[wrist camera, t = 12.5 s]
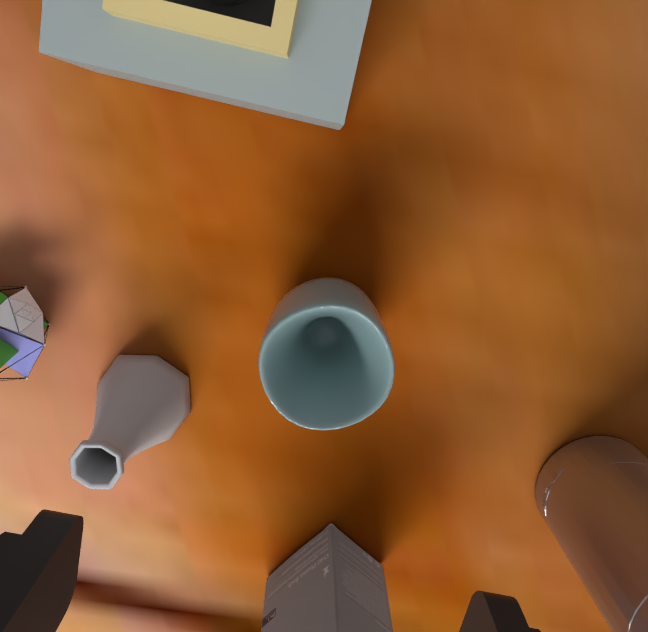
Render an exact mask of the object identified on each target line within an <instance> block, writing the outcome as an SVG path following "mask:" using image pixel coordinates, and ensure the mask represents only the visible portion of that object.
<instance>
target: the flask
mask: <svg viewBox="0 0 648 632" xmlns="http://www.w3.org/2000/svg"><path fill="white" fill-rule="evenodd" d="M190 413H191V406H190V387H189V377H188V376H186V375H185V374H183V373H182V372H180V371H179V370H177V369H176V368H175V367H173V366H172V365H170V364H169V363H167V362H166V361H164V360H163V359H161V358H160V357H159V356H157V355H118V356H117V357H116V358H115V360H114V361H113V363H112V364H111V365H110V367H109V368H108V369H107V371H106V372H105V374H104V375H103V376H102V378H101V379H100V381H99V382H98V385H97V400H96V412H95V421H94V428H93V431H92V433H91V436H90V438H89V440H84V441H82V442H81V443H80V445H79V446H78V447H77V449H76V450H75V451H74V453H73V454H72V456H71V457H70V458H69V461H70V469H71V478H73V479H75V480H76V481H78V482H79V483H81V484H83V485H84V486H86V487H88V488H89V489H111V488H112V487H113V486H114V485H115V483H116V482H117V481H118V479H119V478H120V477H121V475H122V474H123V473H124V463H125V462H126V461H127V460H128V459H129V458H130V457H132V456H133V455H135V454H138V453H140V452H142V451H144V450H146V449H148V448H150V447H152V446H154V445H157V444H159V443H162V442H164V441H166V440H168V439H170V438H171V437H172V436H173V434H174V433H175V432H176V430H177V429H178V428H179V427H180V425H181V424H182V423H183V421H184V420H185V419H186V418H187V416H188V415H189V414H190Z"/></svg>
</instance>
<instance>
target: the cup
mask: <svg viewBox="0 0 648 632" xmlns="http://www.w3.org/2000/svg"><path fill="white" fill-rule="evenodd" d="M258 365H259V373H260V379H261V382H262V385H263V388H264V391H265V393H266V394H267V396H268V398H269V400H270V402H271V403H272V404H273V406H274V407H275V408H276V410H277V411H278V412H279V413H280V414H281V415H283V416H284V417H285V418H286V419H287V420H289V421H291V422H292V423H294V424H296V425H298V426H301V427H304V428H308V429H313V430H334V429H339V428H343V427H348V426H350V425H353V424H355V423H358V422H360V421H362V420H364V419H365V418H367V417H368V416H370V415H372V414H373V413H374V412H375V411H376V410H377V409H378V408H380V407H381V406H382V404H383V403H384V401H385V400H386V399H387V397H388V396H389V393H390V391H391V388H392V386H393V380H394V374H395V364H394V354H393V350H392V346H391V342H390V339H389V336H388V333H387V331H386V328H385V326H384V323H383V321H382V319H381V317H380V314H379V312H378V310H377V309H376V307H375V306H374V304H373V303H372V301H371V300H370V298H369V297H368V296H367V295H366V294H365V293H364V292H363V291H362V290H361V289H360V288H359V287H357V286H356V285H354V284H353V283H351V282H349V281H346V280H343V279H340V278H331V277H326V278H317V279H313V280H309V281H306V282H304V283H302V284H300V285H297V286H296V287H294V288H293V289H292V290H290V291H289V292H287V293H286V294H285V295H284V296H283V297H282V298H281V299H280V300H279V302H278V303H277V305H276V306H275V308H274V309H273V311H272V313H271V315H270V317H269V319H268V322H267V325H266V328H265V331H264V334H263V337H262V341H261V344H260V348H259V360H258Z"/></svg>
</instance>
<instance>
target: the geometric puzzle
mask: <svg viewBox="0 0 648 632" xmlns="http://www.w3.org/2000/svg"><path fill="white" fill-rule="evenodd" d="M5 287H12V286H5ZM21 288H24V289H22V290H20V291H18V292H16V293H15V294H13V295H11V296H9V297H8V296H7V295H5V294H4V293H2V292H1V290H0V368H1V367H2V366H3V365H4V364H5V365H7V366H8V367H7V368H9V367H10V368H12V369H13V370H15V371H16V372H18V373H19V374H21V375H22V376H24V377H25V378H0V379H12V380H15V379H28V375H29V373H30V371H31V370H32V368H33V366H34V364H35V362H36V360H37V358H38V357H39V355H40V353H41V351H42V349H43V347H44V346H46V344H45V342H46V340H45V338H44V336H45V334H44V328H46V327H47V326H48V327H49V325H50V324H49V323H47V322H46V321H47V320H46V321H44V319H43V316H44V315H43V312H42V310H41V309H40V307H39V306H38V304H37V303H36V301H35V300H34V298H33V297H32V295H31V294H30V292H29V291H28V289H27V286H25V287H21ZM12 289H19V288H12ZM3 290H10V289H3ZM45 319H46V318H45ZM48 327H47V328H48ZM46 331H47V332H48V330H47V329H46ZM46 331H45V333H46ZM46 337H47V335H46ZM7 368H6V369H7ZM6 369H4V370H6ZM4 370H2V371H4ZM2 371H1V372H2ZM1 372H0V373H1ZM1 381H5V380H1Z"/></svg>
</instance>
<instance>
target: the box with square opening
mask: <svg viewBox="0 0 648 632" xmlns="http://www.w3.org/2000/svg"><path fill="white" fill-rule="evenodd" d="M371 1H372V0H247V1H244V2H242V3H240V4H236V5H231V6H221V5H215V4H212V3H209V2H207V1H205V0H43V3H42V16H41V29H40V43H39V52H40V53H43V54H46V55H48V56H51V57H54V58H57V59H60V60H63V61H66V62H68V63H71V64H74V65H77V66H80V67H83V68H86V69H88V70H91V71H94V72H97V73H101V74H105V75H109V76H113V77H117V78H122V79H126V80H130V81H134V82H138V83H143V84H147V85H151V86H155V87H159V88H164V89H168V90H172V91H176V92H181V93H185V94H189V95H193V96H197V97H202V98H206V99H210V100H214V101H218V102H223V103H227V104H231V105H235V106H239V107H244V108H248V109H252V110H256V111H260V112H265V113H269V114H273V115H277V116H281V117H286V118H290V119H294V120H298V121H302V122H307V123H311V124H315V125H319V126H323V127H328V128H332V129H336V130H340V129H341V128H342V126H343V125H344V122H345V118H346V113H347V109H348V104H349V100H350V95H351V91H352V86H353V82H354V77H355V73H356V68H357V64H358V60H359V55H360V51H361V46H362V42H363V37H364V33H365V28H366V24H367V19H368V15H369V10H370V6H371Z"/></svg>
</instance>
